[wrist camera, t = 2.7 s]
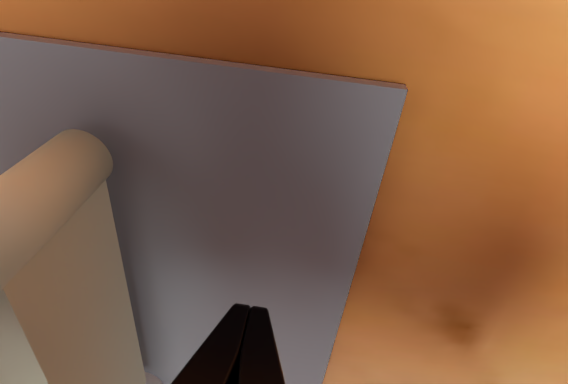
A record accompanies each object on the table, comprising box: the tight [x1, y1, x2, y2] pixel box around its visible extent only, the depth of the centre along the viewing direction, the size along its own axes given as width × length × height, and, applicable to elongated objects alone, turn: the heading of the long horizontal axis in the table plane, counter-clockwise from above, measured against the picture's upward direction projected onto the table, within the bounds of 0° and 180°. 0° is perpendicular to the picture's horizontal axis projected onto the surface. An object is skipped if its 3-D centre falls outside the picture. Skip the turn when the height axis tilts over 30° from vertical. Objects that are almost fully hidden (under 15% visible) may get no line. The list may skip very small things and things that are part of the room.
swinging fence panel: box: [0, 129, 146, 384], centre depth 11 cm, size 2×12×4 cm, turn 174°
